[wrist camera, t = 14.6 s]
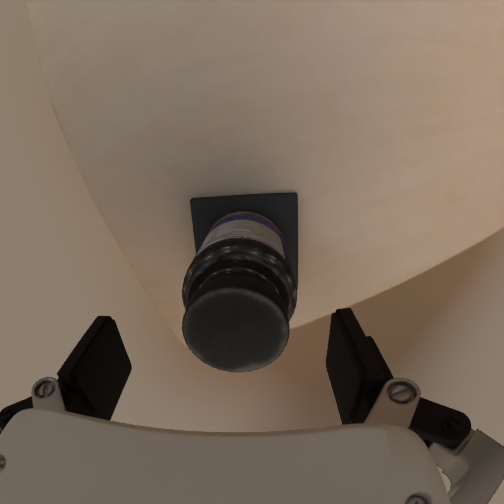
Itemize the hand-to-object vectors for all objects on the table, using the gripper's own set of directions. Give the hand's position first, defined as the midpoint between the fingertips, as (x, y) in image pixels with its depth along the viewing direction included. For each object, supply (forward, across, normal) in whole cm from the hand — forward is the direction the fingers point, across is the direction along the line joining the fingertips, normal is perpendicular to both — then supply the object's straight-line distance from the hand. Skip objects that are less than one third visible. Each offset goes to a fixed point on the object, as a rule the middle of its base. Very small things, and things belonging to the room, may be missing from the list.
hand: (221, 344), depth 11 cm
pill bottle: (+12, -1, 0) cm, 12 cm away
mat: (+12, -1, 0) cm, 12 cm away
